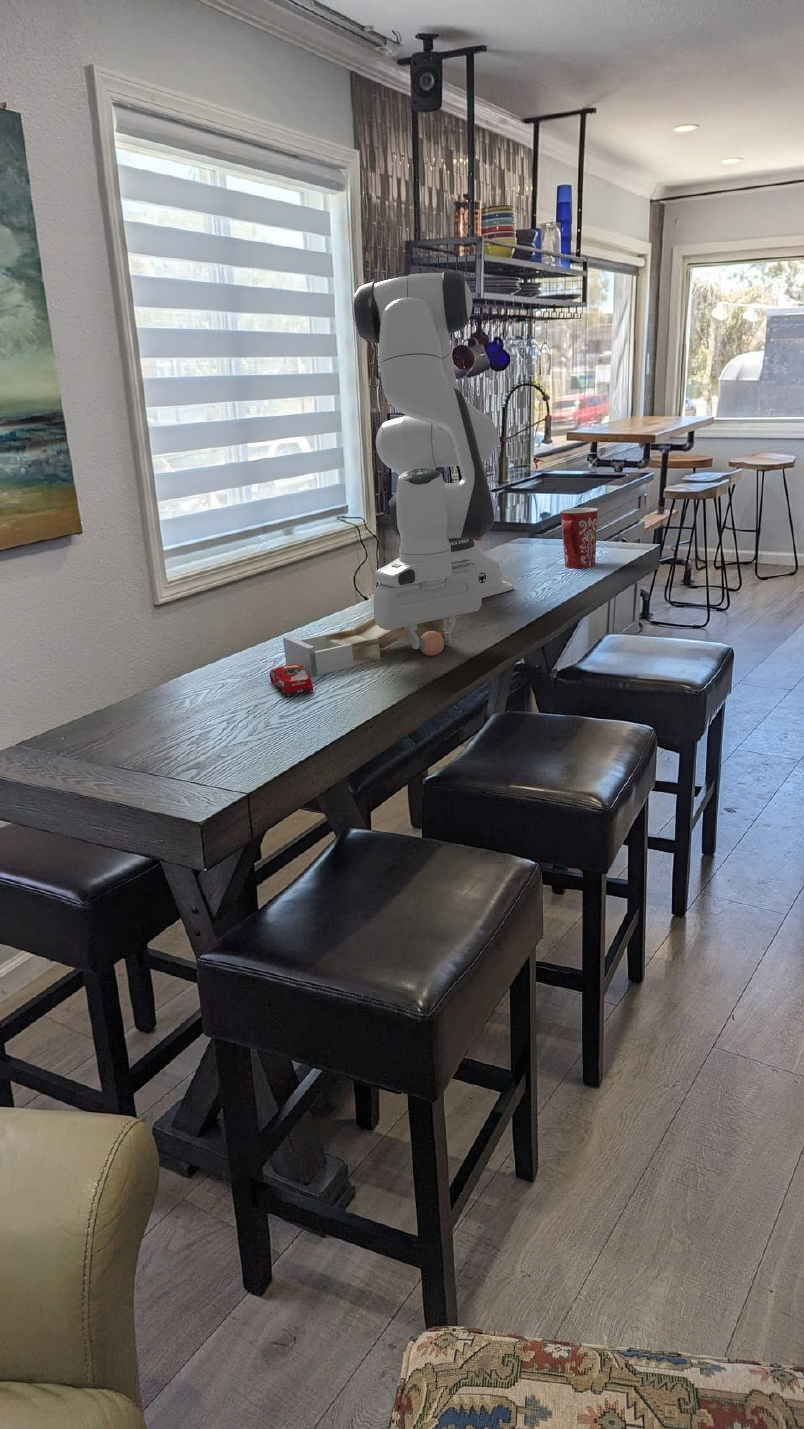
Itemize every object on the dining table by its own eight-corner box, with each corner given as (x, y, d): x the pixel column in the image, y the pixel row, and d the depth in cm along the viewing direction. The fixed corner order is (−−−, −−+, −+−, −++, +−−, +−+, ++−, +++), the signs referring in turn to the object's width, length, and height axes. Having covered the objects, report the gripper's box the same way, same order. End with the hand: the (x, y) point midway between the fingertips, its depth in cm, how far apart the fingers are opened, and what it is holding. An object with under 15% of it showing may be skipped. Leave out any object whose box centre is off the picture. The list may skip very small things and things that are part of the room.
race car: (268, 681, 168) (265, 658, 166) (299, 676, 169) (296, 653, 168) (283, 701, 156) (280, 677, 154) (316, 696, 157) (313, 672, 156)
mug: (571, 561, 246) (569, 507, 242) (604, 562, 241) (604, 507, 237) (548, 571, 237) (546, 514, 232) (582, 573, 231) (581, 515, 227)
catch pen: (327, 655, 179) (324, 628, 178) (353, 666, 171) (351, 639, 169) (286, 664, 175) (282, 637, 174) (311, 676, 167) (307, 648, 165)
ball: (436, 650, 177) (434, 626, 175) (449, 655, 173) (448, 631, 172) (415, 655, 175) (413, 631, 173) (428, 660, 171) (426, 635, 169)
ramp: (422, 634, 188) (419, 590, 185) (449, 643, 180) (446, 598, 177) (327, 655, 179) (322, 610, 176) (351, 666, 171) (346, 618, 168)
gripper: (466, 555, 176) (470, 630, 180) (366, 574, 167) (373, 652, 171) (486, 559, 171) (490, 636, 175) (384, 579, 161) (391, 659, 166)
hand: (431, 644), depth 173 cm, fingers closed on ball, 4 cm apart
